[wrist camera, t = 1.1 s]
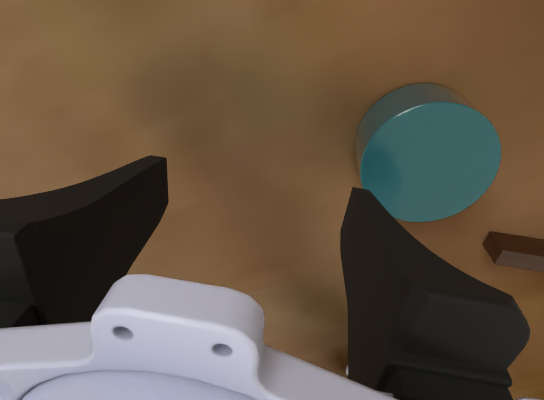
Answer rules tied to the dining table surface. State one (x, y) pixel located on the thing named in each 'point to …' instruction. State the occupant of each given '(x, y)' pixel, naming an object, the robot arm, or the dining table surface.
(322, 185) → the dining table surface
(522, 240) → the walnut bay
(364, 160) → the teal puck
